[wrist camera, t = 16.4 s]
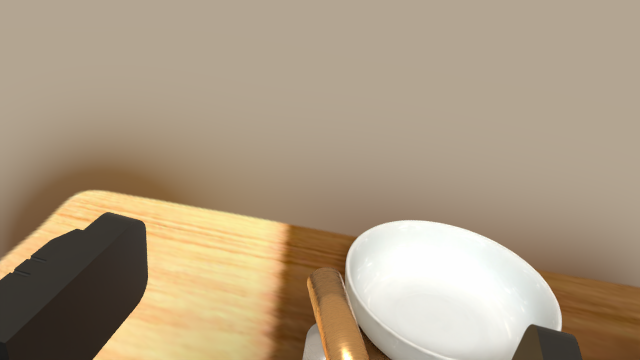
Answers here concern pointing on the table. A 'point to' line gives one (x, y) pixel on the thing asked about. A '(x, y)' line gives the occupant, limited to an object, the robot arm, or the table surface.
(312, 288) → the cylinder
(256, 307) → the table surface
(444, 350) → the serving bowl
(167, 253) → the table surface
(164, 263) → the table surface
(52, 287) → the robot arm
